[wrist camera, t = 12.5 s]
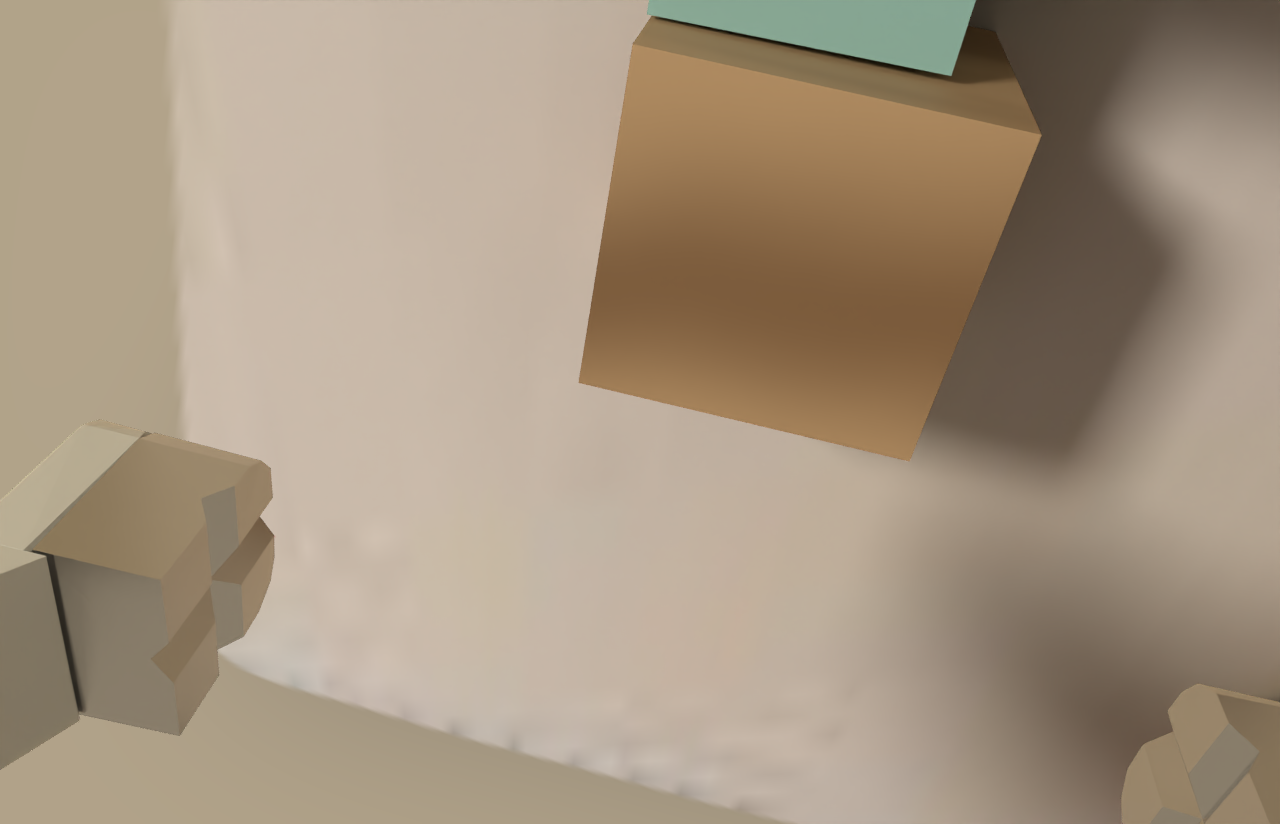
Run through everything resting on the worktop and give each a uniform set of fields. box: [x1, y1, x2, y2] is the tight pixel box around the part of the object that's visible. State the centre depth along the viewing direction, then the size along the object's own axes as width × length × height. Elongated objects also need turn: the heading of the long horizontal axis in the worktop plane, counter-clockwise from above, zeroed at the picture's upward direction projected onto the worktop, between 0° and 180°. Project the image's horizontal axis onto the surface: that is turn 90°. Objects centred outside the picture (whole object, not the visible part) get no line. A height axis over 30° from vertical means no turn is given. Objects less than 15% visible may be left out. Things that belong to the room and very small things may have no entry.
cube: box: [579, 15, 1042, 461], centre depth 16 cm, size 5×5×5 cm
